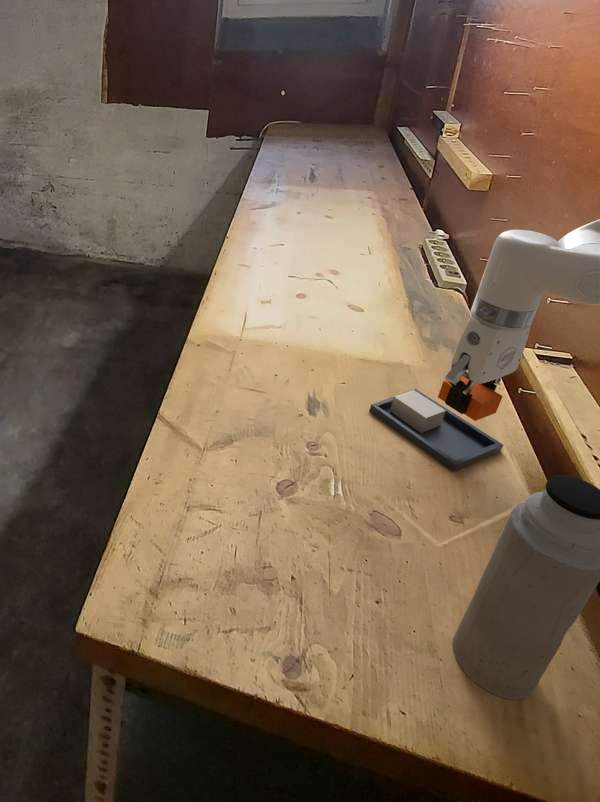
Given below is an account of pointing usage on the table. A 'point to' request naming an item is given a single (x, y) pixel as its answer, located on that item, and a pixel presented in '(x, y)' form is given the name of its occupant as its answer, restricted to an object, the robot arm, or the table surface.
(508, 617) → the thermos bottle
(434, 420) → the grey pad
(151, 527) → the table surface
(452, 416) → the tray
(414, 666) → the table surface
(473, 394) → the orange pad
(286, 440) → the table surface
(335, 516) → the table surface
